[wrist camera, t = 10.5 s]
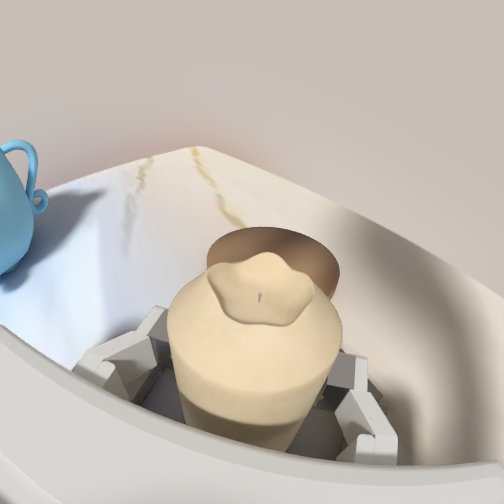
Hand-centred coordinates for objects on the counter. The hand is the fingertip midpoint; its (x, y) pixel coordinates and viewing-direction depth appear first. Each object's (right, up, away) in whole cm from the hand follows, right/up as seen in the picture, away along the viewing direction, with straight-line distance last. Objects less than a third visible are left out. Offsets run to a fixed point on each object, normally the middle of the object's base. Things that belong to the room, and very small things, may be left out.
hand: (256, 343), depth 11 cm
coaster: (+2, +2, +14) cm, 14 cm away
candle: (-1, -6, +3) cm, 6 cm away
